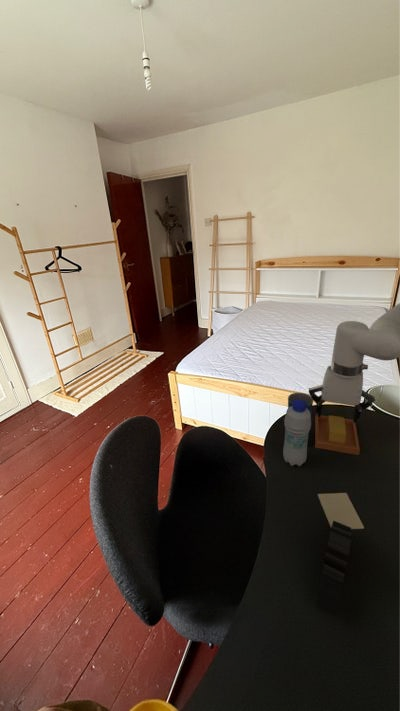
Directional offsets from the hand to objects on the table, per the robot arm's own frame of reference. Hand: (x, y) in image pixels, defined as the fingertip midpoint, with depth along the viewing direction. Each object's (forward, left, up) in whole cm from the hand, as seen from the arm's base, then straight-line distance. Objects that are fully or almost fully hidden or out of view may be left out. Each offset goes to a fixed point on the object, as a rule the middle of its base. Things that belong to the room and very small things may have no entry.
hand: (336, 416), depth 88 cm
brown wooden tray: (0, 0, -7) cm, 7 cm away
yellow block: (0, 0, -7) cm, 7 cm away
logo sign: (+15, +38, -7) cm, 41 cm away
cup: (+12, +1, -7) cm, 14 cm away
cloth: (+9, +25, -7) cm, 28 cm away
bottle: (+15, +9, -7) cm, 19 cm away
